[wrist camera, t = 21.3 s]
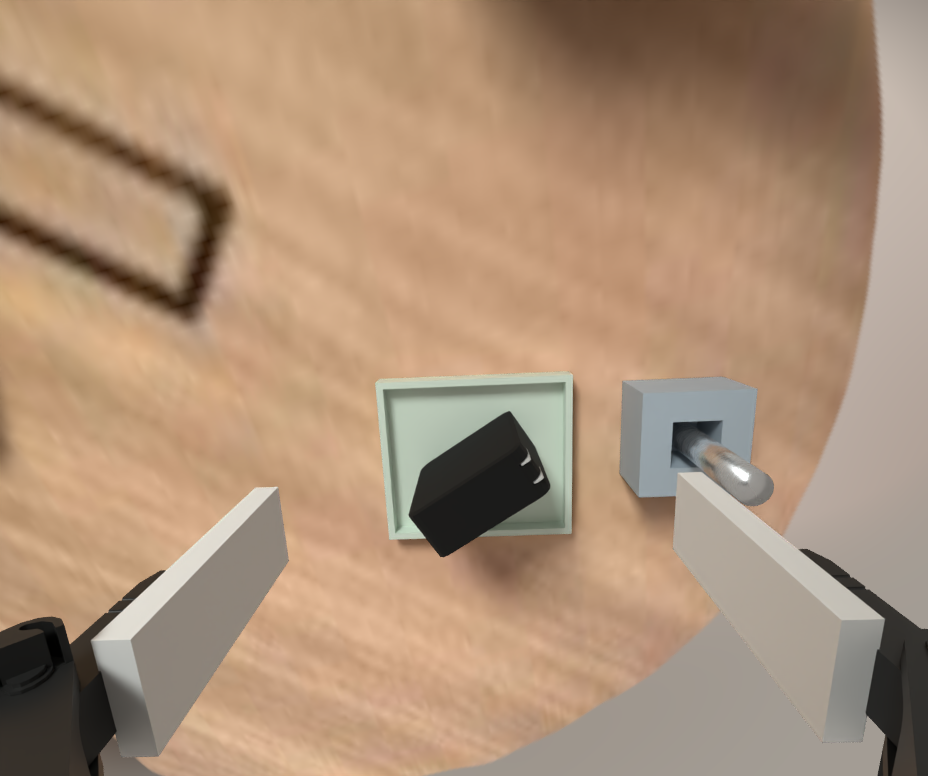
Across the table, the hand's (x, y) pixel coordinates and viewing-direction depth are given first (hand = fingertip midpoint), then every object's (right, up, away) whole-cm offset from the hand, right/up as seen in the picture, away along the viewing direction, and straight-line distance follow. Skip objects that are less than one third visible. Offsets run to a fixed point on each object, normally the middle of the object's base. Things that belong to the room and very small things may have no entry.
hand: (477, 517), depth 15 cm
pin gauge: (+19, 0, +26) cm, 32 cm away
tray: (+1, -2, +28) cm, 28 cm away
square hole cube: (+19, +1, +27) cm, 33 cm away
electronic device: (+1, -2, +27) cm, 28 cm away
